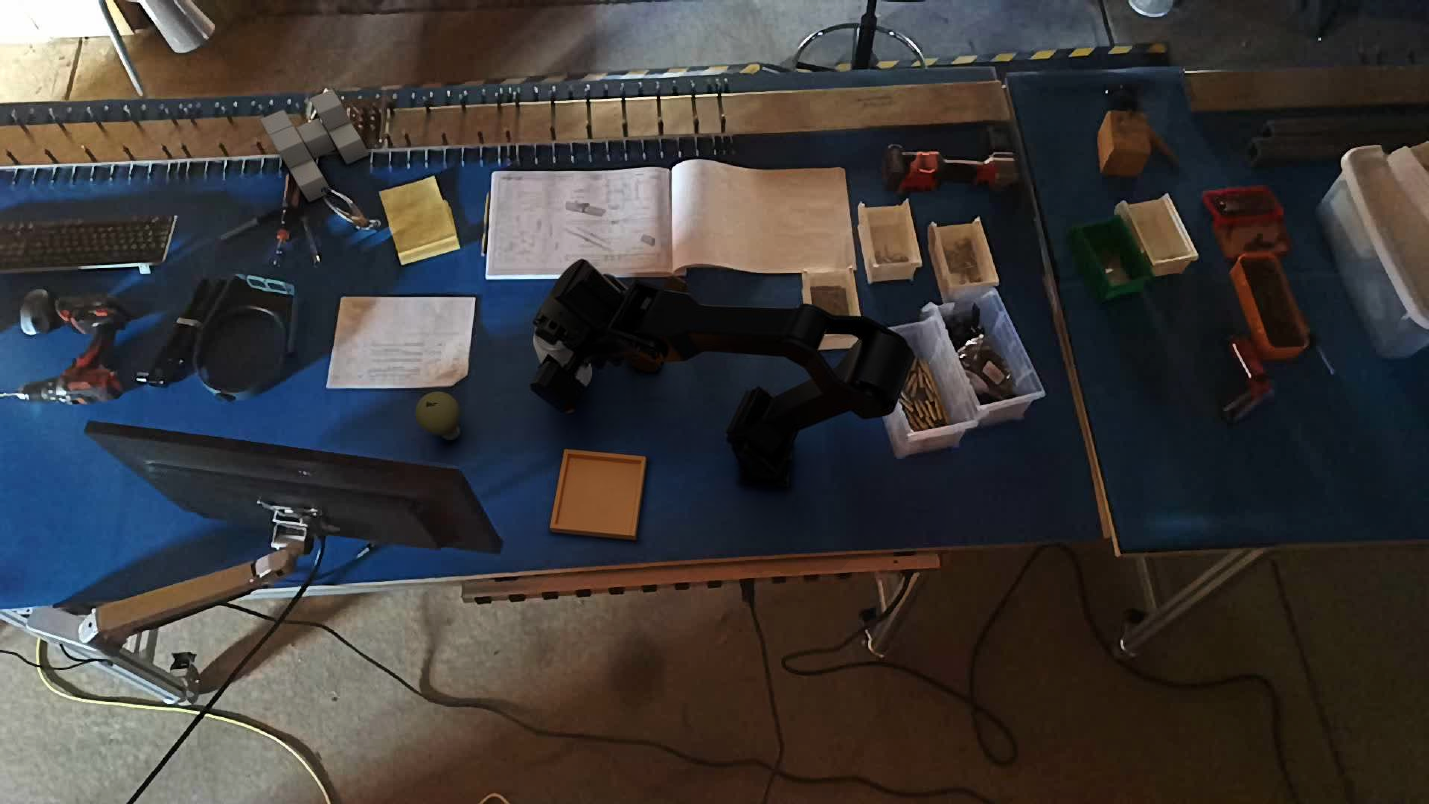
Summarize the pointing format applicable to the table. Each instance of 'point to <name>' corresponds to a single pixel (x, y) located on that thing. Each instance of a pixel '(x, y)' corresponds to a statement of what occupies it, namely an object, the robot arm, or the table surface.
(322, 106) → the gray h shaped block
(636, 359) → the bolt
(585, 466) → the tray
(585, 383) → the can
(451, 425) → the light bulb
